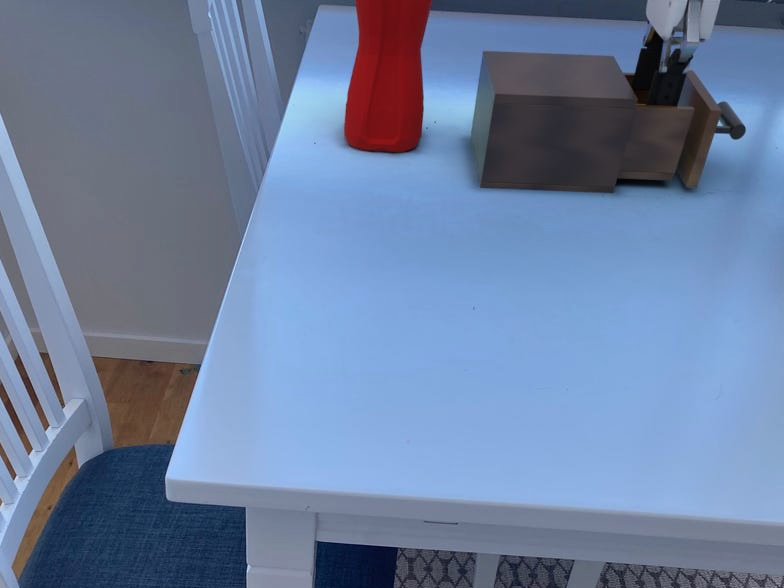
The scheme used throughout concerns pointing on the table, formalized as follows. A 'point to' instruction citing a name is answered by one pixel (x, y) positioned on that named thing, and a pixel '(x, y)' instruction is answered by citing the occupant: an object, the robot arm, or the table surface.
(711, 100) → the drawer
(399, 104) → the red bottle
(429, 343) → the table surface
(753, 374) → the table surface
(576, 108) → the cabinet
